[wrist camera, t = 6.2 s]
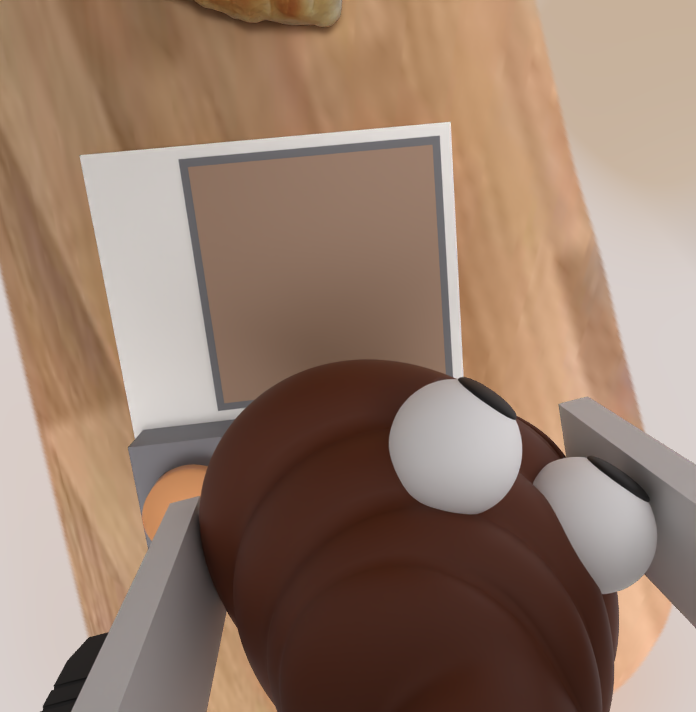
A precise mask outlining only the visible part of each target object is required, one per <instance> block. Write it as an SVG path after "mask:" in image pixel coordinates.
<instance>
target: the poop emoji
mask: <svg viewBox="0 0 696 712" xmlns="http://www.w3.org/2000/svg"><path fill="white" fill-rule="evenodd" d="M649 502H650V498H649V496H648V494H647V493H646V492H645V491H644V489H643V488H642V487H641V486H640V485H639V484H638V483H636V482H635V481H634V480H633V479H632V478H631V477H629V476H628V475H627V474H625V473H624V472H623V471H621V470H620V469H618V468H617V467H615V466H614V465H612V464H610V463H608V462H607V461H605V460H603V459H600V458H598V457H595V456H588V457H587V458H586V457H568V458H566V456H565V455H564V454H563V452H562V451H561V450H560V449H559V448H558V446H557V445H556V444H555V443H554V442H553V441H552V440H551V439H550V438H549V437H548V436H547V435H545V434H544V433H543V432H542V431H540V430H539V429H538V428H536V427H535V426H533V425H532V424H530V423H529V422H527V421H525V420H523V419H522V418H520V417H518V416H516V413H515V411H514V410H513V409H512V407H511V406H510V405H509V404H508V403H507V402H506V401H505V400H504V399H502V398H501V397H500V396H499V395H498V394H496V393H495V392H494V391H492V390H491V389H489V388H488V387H486V386H484V385H483V384H481V383H479V382H477V381H475V380H472V379H470V378H466V377H460V378H458V379H456V378H454V377H451V376H449V375H446V374H444V373H441V372H438V371H435V370H432V369H429V368H425V367H422V366H418V365H414V364H409V363H404V362H397V361H389V360H377V359H358V360H346V361H339V362H333V363H328V364H324V365H320V366H316V367H313V368H310V369H307V370H304V371H302V372H299V373H297V374H294V375H292V376H290V377H288V378H286V379H284V380H282V381H281V382H279V383H277V384H276V385H274V386H272V387H271V388H269V389H268V390H266V391H265V392H264V393H262V394H261V395H260V396H258V397H257V398H256V399H255V400H254V401H252V402H251V403H250V404H249V405H248V406H247V407H246V408H245V409H244V410H243V411H242V412H241V413H240V414H239V415H238V416H237V418H236V419H235V420H234V421H233V422H232V424H231V425H230V426H229V428H228V429H227V431H226V432H225V433H224V435H223V437H222V438H221V440H220V441H219V443H218V445H217V447H216V449H215V451H214V453H213V455H212V457H211V460H210V462H209V465H208V468H207V470H206V474H205V477H204V481H203V485H202V490H201V497H200V506H199V527H200V537H201V543H202V549H203V553H204V557H205V561H206V565H207V568H208V571H209V574H210V577H211V579H212V582H213V584H214V586H215V589H216V591H217V593H218V595H219V597H220V600H221V601H222V603H223V605H224V607H225V609H226V611H227V612H228V614H229V616H230V617H231V619H232V620H233V622H234V624H235V625H236V627H237V628H238V632H239V636H240V639H241V642H242V645H243V648H244V651H245V653H246V656H247V658H248V661H249V663H250V665H251V667H252V669H253V671H254V673H255V675H256V677H257V679H258V681H259V682H260V684H261V686H262V687H263V689H264V691H265V692H266V694H267V695H268V697H269V698H270V699H271V701H272V702H273V704H274V705H275V706H276V709H277V712H609V711H610V706H611V701H612V694H613V684H614V661H615V656H616V651H617V645H618V635H619V607H618V595H617V591H620V590H623V589H625V588H627V587H629V586H631V585H632V584H634V583H635V582H636V581H638V580H639V579H640V578H641V577H642V576H643V575H644V574H645V572H646V571H647V569H648V568H649V566H650V564H651V562H652V560H653V558H654V555H655V551H656V546H657V526H656V521H655V517H654V514H653V511H652V508H651V506H650V504H649Z"/></svg>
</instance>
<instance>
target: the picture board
mask: <svg viewBox="0 0 696 712" xmlns="http://www.w3.org/2000/svg"><path fill="white" fill-rule="evenodd" d="M80 161H81V166H82V171H83V176H84V181H85V186H86V191H87V196H88V201H89V206H90V212H91V217H92V222H93V227H94V232H95V237H96V242H97V247H98V252H99V257H100V263H101V268H102V273H103V278H104V283H105V288H106V293H107V298H108V303H109V308H110V314H111V319H112V324H113V329H114V334H115V339H116V344H117V349H118V354H119V359H120V365H121V370H122V375H123V380H124V385H125V390H126V395H127V400H128V405H129V411H130V416H131V421H132V426H133V431H134V436H135V440H134V441H133V442H132V443H131V445H130V446H129V447H128V450H129V455H130V460H131V465H132V470H133V475H134V480H135V485H136V490H137V495H138V500H139V505H140V510H141V515H142V511H143V506H144V503H145V500H146V498H147V496H148V494H149V493H150V491H151V489H152V488H153V486H154V485H155V483H156V482H157V480H158V479H159V478H160V477H161V476H163V475H164V474H165V473H166V472H168V471H170V470H172V469H174V468H176V467H179V466H183V465H192V464H195V465H204V466H208V465H209V462H210V460H211V457H212V455H213V453H214V451H215V449H216V447H217V445H218V443H219V441H220V440H221V438H222V437H223V435H224V433H225V432H226V431H227V429H228V428H229V426H230V425H231V424H232V422H233V421H234V420H235V419H236V418H237V416H238V415H239V414H240V413H241V412H242V411H243V410H244V409H245V408H246V407H247V406H248V405H249V404H250V403H251V402H252V401H254V400H255V399H256V398H257V397H258V396H260V395H261V394H262V393H264V392H265V391H266V390H268V389H269V388H271V387H272V386H274V385H276V384H277V383H279V382H281V381H282V380H284V379H286V378H288V377H290V376H292V375H294V374H297V373H299V372H302V371H304V370H307V369H310V368H313V367H316V366H320V365H324V364H328V363H333V362H339V361H346V360H358V359H377V360H389V361H397V362H404V363H409V364H414V365H418V366H422V367H425V368H429V369H432V370H435V371H438V372H441V373H444V374H446V375H449V376H451V377H454V378H456V379H458V378H460V377H463V358H462V338H461V319H460V299H459V279H458V259H457V240H456V220H455V200H454V181H453V161H452V141H451V122H444V123H433V124H422V125H411V126H399V127H388V128H377V129H366V130H355V131H344V132H333V133H321V134H310V135H299V136H288V137H277V138H266V139H254V140H243V141H232V142H221V143H210V144H199V145H188V146H176V147H165V148H154V149H143V150H132V151H121V152H110V153H98V154H87V155H80ZM142 520H143V519H142ZM144 530H145V529H144ZM145 535H146V540H147V545H148V549H149V547H150V544H151V542H152V541H151V540H150V538H149V537H148V535H147V533H146V531H145Z"/></svg>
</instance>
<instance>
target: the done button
mask: <svg viewBox="0 0 696 712" xmlns="http://www.w3.org/2000/svg"><path fill="white" fill-rule="evenodd" d="M207 468H208V466H204V465H195V464H192V465H183V466H179V467H176V468H174V469H172V470H170V471H168V472H166V473H165V474H164V475H163V476H161V477H160V478H159V479H158V480H157V482H156V483H155V485H154V486H153V488H152V489H151V491H150V493H149V494H148V496H147V498H146V500H145V503H144V506H143V511H142V519H143V525H144V529H145V531H146V533H147V535H148V537H149V538H150V540H151V541H152V540H153V538H154V536H155V534H156V532H157V530H158V528H159V525H160V523H161V521H162V519H163V517H164V515H165V513H166V511H167V509H168V507H169V504H170V503H173V502H177V501H181V500H185V499H189V498H193V497H197V496H200V497H201V490H202V485H203V481H204V477H205V474H206V470H207Z"/></svg>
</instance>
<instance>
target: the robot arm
mask: <svg viewBox="0 0 696 712" xmlns="http://www.w3.org/2000/svg"><path fill="white" fill-rule="evenodd" d="M559 411H560V418H561V424H562V431H563V438H564V445H565V452H566V458H568V457H586V458H587V457H588V456H595V457H598V458H600V459H603V460H605V461H607V462H608V463H610V464H612V465H614V466H615V467H617V468H618V469H620V470H621V471H623V472H624V473H625V474H627V475H628V476H629V477H631V478H632V479H633V480H634V481H635V482H636V483H638V484H639V485H640V486H641V487H642V488H643V489H644V491H645V492H646V493H647V494H648V496H649V498H650V502H649V504H650V506H651V508H652V511H653V514H654V517H655V521H656V526H657V546H656V551H655V555H654V558H653V560H652V562H651V564H650V566H649V568H648V569H647V571H646V572H645V575H646V576H647V577H648V578H649V580H650V581H651V582H652V583H653V584H654V585H655V586H656V587H657V588H658V589H659V590H660V591H661V592H662V593H663V594H664V595H665V596H666V597H667V598H668V599H669V601H670V602H671V603H672V604H673V605H674V606H675V607H676V608H677V609H678V610H679V611H680V612H681V613H682V614H683V615H684V616H685V617H686V618H687V619H688V620H689V621H690V623H692V625H693V626H694V627H695V628H696V465H695V464H694V463H692V462H691V461H689V460H687V459H686V458H684V457H683V456H681V455H680V454H678V453H677V452H675V451H673V450H672V449H670V448H668V447H667V446H665V445H664V444H662V443H660V442H659V441H657V440H656V439H654V438H653V437H651V436H649V435H648V434H646V433H645V432H643V431H642V430H640V429H638V428H637V427H635V426H634V425H632V424H630V423H629V422H627V421H626V420H624V419H622V418H621V417H619V416H618V415H616V414H615V413H613V412H611V411H610V410H608V409H607V408H605V407H603V406H602V405H600V404H599V403H597V402H595V401H594V400H592V399H591V398H589V397H584V398H580V399H576V400H572V401H568V402H564V403H560V404H559ZM199 506H200V496H197V497H193V498H189V499H185V500H181V501H177V502H173V503H170V504H169V507H168V509H167V511H166V513H165V515H164V517H163V519H162V521H161V523H160V525H159V528H158V530H157V532H156V534H155V536H154V538H153V540H152V542H151V544H150V547H149V549H148V551H147V553H146V555H145V557H144V559H143V561H142V563H141V565H140V568H139V570H138V572H137V574H136V576H135V578H134V580H133V582H132V584H131V587H130V589H129V591H128V593H127V595H126V597H125V599H124V601H123V603H122V605H121V608H120V610H119V612H118V614H117V616H116V618H115V620H114V622H113V624H112V626H111V629H110V631H109V632H108V633H104V634H100V635H96V636H93V637H89V638H88V639H87V640H86V641H85V642H84V643H83V644H82V645H81V647H80V648H79V649H78V650H77V651H76V652H75V653H74V654H73V655H72V656H71V657H70V658H69V660H68V661H67V662H66V664H65V666H64V668H63V670H62V672H61V674H60V675H59V677H58V679H57V681H56V683H55V685H54V690H52V691H51V692H50V694H49V696H48V698H47V699H46V701H45V703H44V705H43V711H41V712H206V711H207V706H208V701H209V696H210V691H211V686H212V681H213V676H214V671H215V666H216V661H217V656H218V651H219V646H220V641H221V636H222V631H223V626H224V621H225V616H226V609H225V607H224V605H223V603H222V601H221V600H220V597H219V595H218V593H217V591H216V589H215V586H214V584H213V582H212V579H211V577H210V574H209V571H208V568H207V565H206V561H205V557H204V553H203V549H202V543H201V537H200V527H199Z"/></svg>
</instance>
